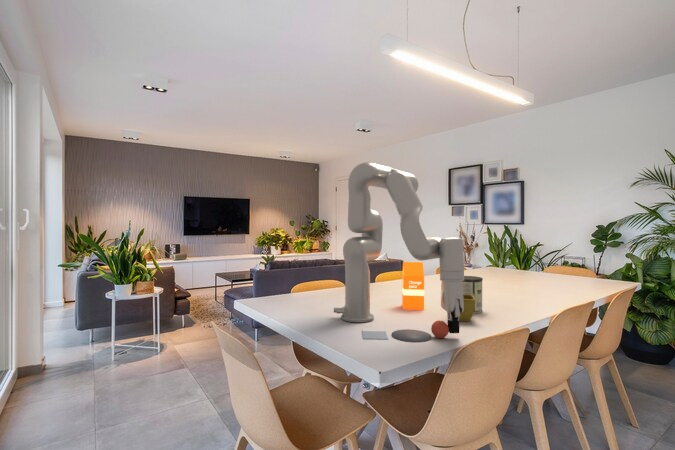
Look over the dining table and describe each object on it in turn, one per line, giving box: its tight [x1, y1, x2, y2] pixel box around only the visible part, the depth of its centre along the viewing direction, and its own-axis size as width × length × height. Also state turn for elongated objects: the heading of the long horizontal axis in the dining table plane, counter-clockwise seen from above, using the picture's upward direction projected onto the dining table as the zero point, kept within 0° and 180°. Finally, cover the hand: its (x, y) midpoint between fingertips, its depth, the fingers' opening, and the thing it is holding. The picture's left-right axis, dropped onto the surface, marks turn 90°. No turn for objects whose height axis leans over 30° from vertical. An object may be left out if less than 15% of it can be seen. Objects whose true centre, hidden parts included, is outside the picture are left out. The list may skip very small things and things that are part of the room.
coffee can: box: [462, 275, 484, 314], centre depth 156 cm, size 10×10×14 cm
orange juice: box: [401, 261, 425, 311], centre depth 161 cm, size 8×9×20 cm
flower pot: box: [459, 295, 475, 322], centre depth 141 cm, size 9×9×9 cm
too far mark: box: [361, 330, 389, 340], centre depth 121 cm, size 8×8×1 cm
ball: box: [430, 320, 450, 339], centre depth 119 cm, size 6×6×6 cm
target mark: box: [390, 328, 433, 343], centre depth 121 cm, size 13×13×1 cm
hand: (453, 332), depth 119 cm, fingers closed
